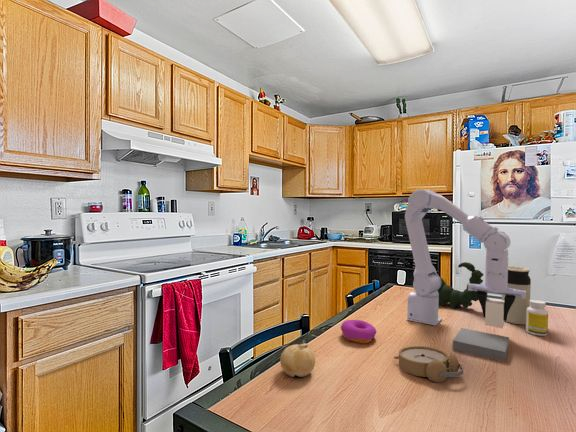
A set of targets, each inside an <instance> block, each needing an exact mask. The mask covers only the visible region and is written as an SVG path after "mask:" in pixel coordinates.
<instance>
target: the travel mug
mask: <svg viewBox="0 0 576 432" xmlns="http://www.w3.org/2000/svg"><path fill="white" fill-rule="evenodd" d="M530 272H531V269H530V268H527V267H523V266H514V265H513V266H509V265H508V283H507V288H513V289H518V290H524V291H526V297H525V299H523V298H520V297H516V298H515V301H514V302H513V304H512V306H511V307H510V309H509V312H508V315H507V320H506V321H505V322H506V323H509V324H513V325H519V326H520V325H522V326H523V325H526V312H527V308H528V307H530V300H531V287H532V286H531V285H532V284H531V282H532V281H531V280H532V279H531V277H530V275H529V274H530ZM505 296H506V295H501V300H502V301H504V298H505Z"/></svg>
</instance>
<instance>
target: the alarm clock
mask: <svg viewBox="0 0 576 432" xmlns="http://www.w3.org/2000/svg"><path fill="white" fill-rule="evenodd" d="M393 359H396V360H398V361H399V362H398V365H399V368H400V369H401V370H402V371H403V372H405V373H407V374H410V375H413V376H417V377H422V378H427V379H429V380H430V381H432V382H434V383H442V382H443V381H445V380H446V378H457V377H461V376H463V374H464V367H463V365H462V364H460V363H461V362H459V361H460V360H459V359H458V357H457V356H456V355H455V354H453V353H449V354H448V353H447V352H445V351H443V350H441V349H438V348H435V347H432V346H431V347H429V346H422V345H421V346H420V345H419V346H418V345H412V346H411V345H410V346H406V347H403V348H401V349H399V351H398V355H397V356H395V355H394V356H393Z"/></svg>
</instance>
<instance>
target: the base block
mask: <svg viewBox="0 0 576 432" xmlns="http://www.w3.org/2000/svg"><path fill="white" fill-rule="evenodd" d="M509 347H510V337H509V336H505V335H499V334H494V333H490V332H489V333H488V332H486V331H485V332H484V331H478V330H476V329H475V330H473V329H470V328H465V327H461V328H460V329H459V331H458V332H457V334H456V335H455V336H454V338H453V340H452V350H453V351H458V352H460V353H461V352H462V353H467V354H469V355H474V356H478V357H481V358H485V359H486V358H488V359H490V360H496V361H500V362H504V363H505V362H506V361H507V359H506V358H507V355H508V351H509Z"/></svg>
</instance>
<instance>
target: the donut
mask: <svg viewBox="0 0 576 432" xmlns="http://www.w3.org/2000/svg"><path fill="white" fill-rule="evenodd" d="M340 330H341V332H342V333H341V334H342V336H343V337H344V338H345V339H346V340H348V341H351V342H354V343H359V344H362V345H363V344H368V343H370V342H371V341H372V339H375V336H376V334H377V329H376V327H375V326H373V325H372V324H371V323H369V322H367V321H365V320H361V319H347V320H344V321H343V322H342V323H341V325H340Z"/></svg>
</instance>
